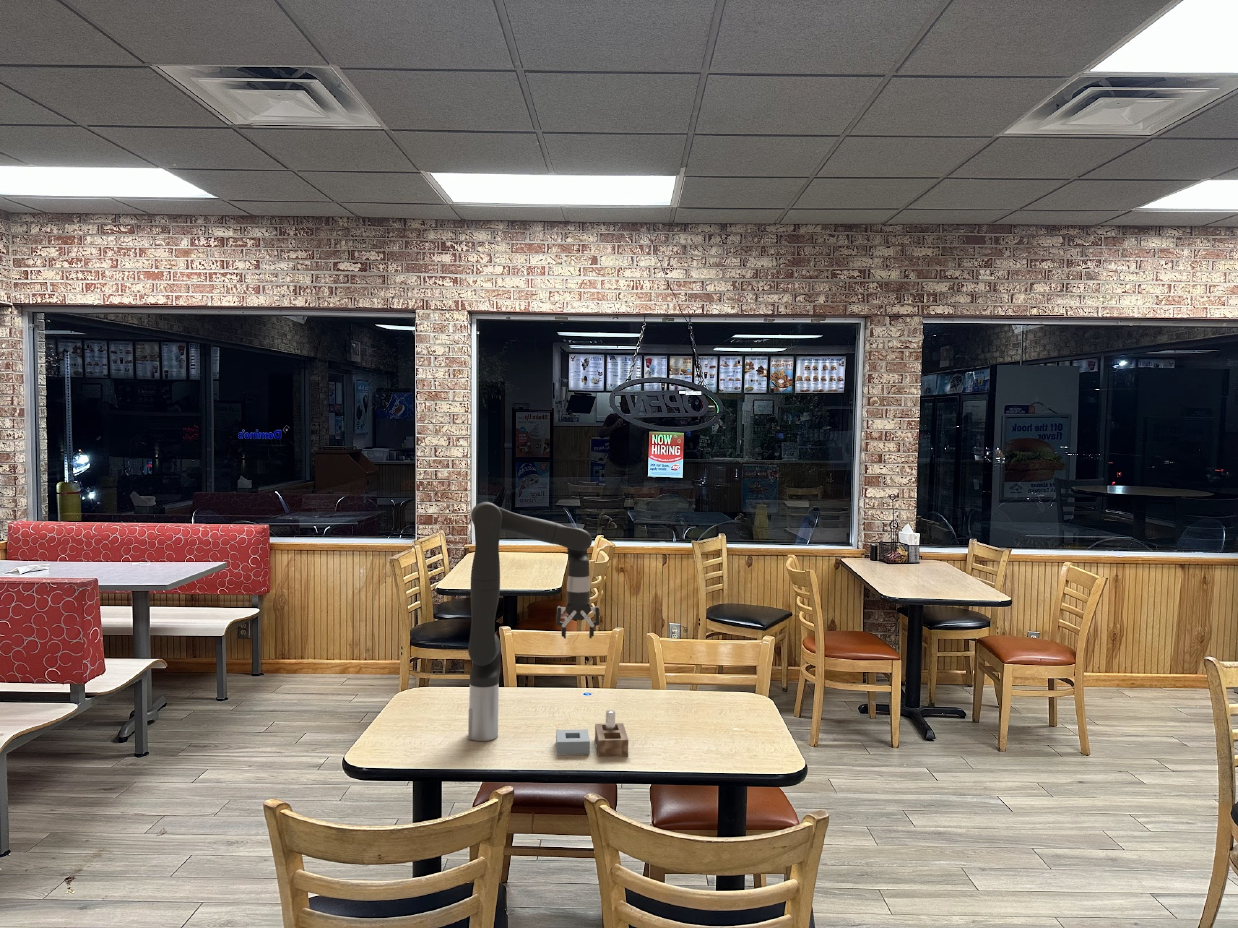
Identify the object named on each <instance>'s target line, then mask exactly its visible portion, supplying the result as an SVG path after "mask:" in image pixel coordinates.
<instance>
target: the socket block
mask: <svg viewBox="0 0 1238 928" xmlns="http://www.w3.org/2000/svg"><path fill="white" fill-rule="evenodd" d="M590 740H591V739H590V734H589V729H587V728H586V729H582V728H581V729H556V730H555V747H556V748H555V750H556V751H555V752H556V756H574V755H575V756H577V755H578V756H581V755H590V754H591V741H590Z"/></svg>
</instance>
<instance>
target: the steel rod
mask: <svg viewBox="0 0 1238 928" xmlns="http://www.w3.org/2000/svg"><path fill="white" fill-rule="evenodd" d="M615 723H616V711H615V710H612V709H609V710H606V711H605V724H606V729H605V730H615Z"/></svg>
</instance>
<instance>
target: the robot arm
mask: <svg viewBox="0 0 1238 928" xmlns="http://www.w3.org/2000/svg"><path fill="white" fill-rule="evenodd" d="M470 513H471V514H470V517H471V522H472V524H473V526H474V527H473V529H474V539H475V540H474V542H475V545H474V546H475V548H474V555H473V560H472V565H471V573H470V612H471V613H470V614H471V616H470V617H471V625H470V633H469V634H470V635H469V641H468V650H467V651H468V656H469V659H470V660H471V670H470V674H469V695H468V696H469V707H468V722H467V723H468V725H467V726H468V727H467V728H468V729H467V732H468V733H467V735H468V737H467V738H468V740H469V741H476V742H488V741H493V740H495V739H497V738H498V736H499V700H500V699H499V696H500V695H499V693H500V692H499V691H500V690H499V689H500V687H499V683H500V680H499V679H500V672H501V658H502V657H501V655H502V654H501V653H502V651H501V649H502V647H501V640H500V638H499V637H498V635H497V634H495V633H496V632H495V630H496V629H495V627H496V626H495V625H496V623H495V621H496V615H497V610H498V605H499V599H500V591H501V565H500V563H501V561H500V537H501V536H500V535H501V531H506V532H510V533H514V534H517V535H520V536H523V537H526V538H529V539H531V540H535V541H538V542H543V543H548V544H551V545H557V546H561V547H564V548H566V550H567V556H568V557H567V558H568V566H567V567H568V568H567V581H566V606H560V605H558V606H557V607H556V618H555V619H556V620H555V621H556V623H555V625H556V626H559V627H561V633H560V635H561V637H563V639H567V625H568V624H569V623H570V622H571V621H572V620H573V621H584V620H585V621H586V622H587V623H588V625H589V627H588V628H589V630H588V632H589V633H588V636H589V637H588V638H589V639H592V638H593V637H595V635H594V634H595V627H597V626H599V625H600V621H601V620H600V608H599V607H600V606H597V605H595V606H590V601H591V580H590V560H589V559H588V558H589V557H588V549H589V548H591V546H592V543H593V539H592V535H591V533H589V532H588V531H587V530H585V529H583V528H580V527H576V528H575V527H570V526H565V525H563V524H561V523H558V522H556V521H555V522H554V521H550V520H546V519H544V518H543V519H541V518H537V517H532V516H528V515H522V514H519V513H515V512H512V511H510V510H508V509H504V508H503V507H499V506H498V505H496V504H495V503H492V502H490V501H483V502H480V503H477V504H476V505H475V506H474V507H473V508H472V510H471V512H470ZM564 611H565V613H566V614H567V616H566V617H565V618H564V620H563V621H561V619H562V618H561V616H562V614H564ZM591 611H592V613H593V615H594V616H595V617H594V619H595V620H594V621H593V620H592V619H591V617H590V616H589V615H590V613H591Z"/></svg>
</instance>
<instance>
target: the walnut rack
mask: <svg viewBox="0 0 1238 928" xmlns="http://www.w3.org/2000/svg"><path fill="white" fill-rule="evenodd" d="M625 727H626V726H625V724H624V723H623V722H619V723H618V722H617V723H616V722H615V730H605V729H606V723H595V724H594V729H595V730H594V741H595V745H596V751H597V757H598V758H602V757H607V758H608V757H629V738H628V737H629V736H628V733H627V731H626V728H625Z"/></svg>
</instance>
